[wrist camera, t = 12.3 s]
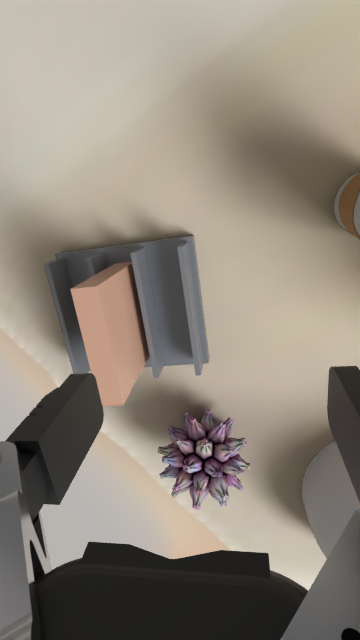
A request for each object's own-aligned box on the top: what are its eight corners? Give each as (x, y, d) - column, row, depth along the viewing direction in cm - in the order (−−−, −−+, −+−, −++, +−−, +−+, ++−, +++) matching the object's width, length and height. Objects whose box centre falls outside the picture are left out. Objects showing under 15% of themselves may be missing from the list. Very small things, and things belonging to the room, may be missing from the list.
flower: (263, 412, 47) (272, 479, 36) (227, 472, 51) (224, 548, 40) (186, 378, 47) (171, 435, 36) (156, 441, 51) (134, 509, 40)
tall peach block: (114, 263, 41) (70, 289, 30) (134, 261, 41) (97, 286, 30) (133, 353, 45) (99, 405, 34) (151, 352, 45) (123, 405, 33)
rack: (61, 252, 43) (38, 260, 38) (193, 235, 40) (187, 240, 35) (90, 365, 49) (72, 385, 43) (209, 357, 45) (205, 378, 40)
